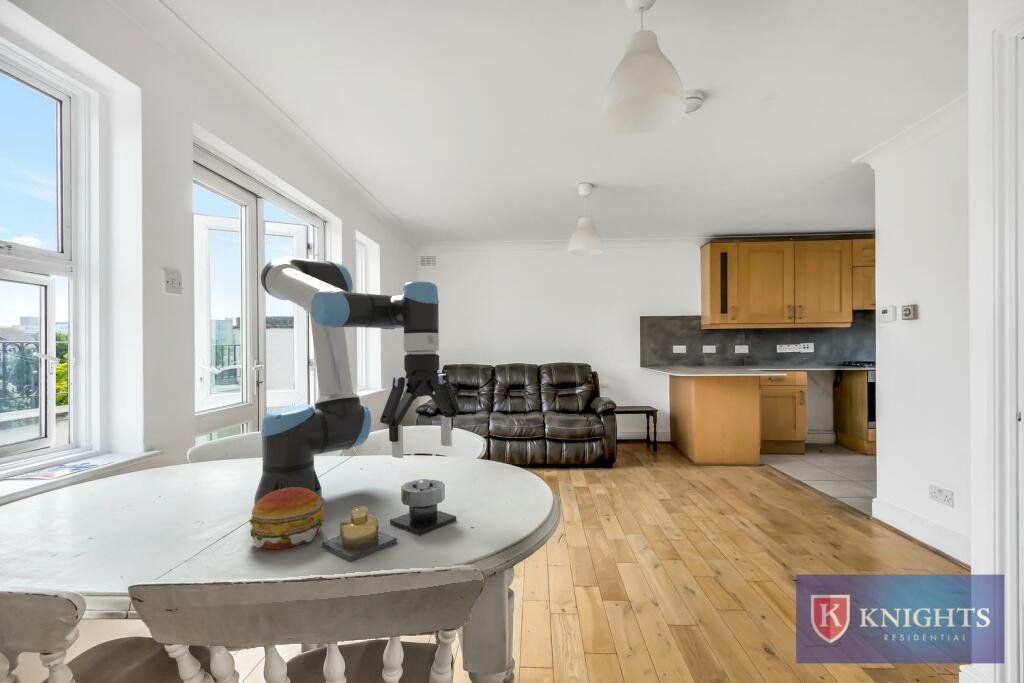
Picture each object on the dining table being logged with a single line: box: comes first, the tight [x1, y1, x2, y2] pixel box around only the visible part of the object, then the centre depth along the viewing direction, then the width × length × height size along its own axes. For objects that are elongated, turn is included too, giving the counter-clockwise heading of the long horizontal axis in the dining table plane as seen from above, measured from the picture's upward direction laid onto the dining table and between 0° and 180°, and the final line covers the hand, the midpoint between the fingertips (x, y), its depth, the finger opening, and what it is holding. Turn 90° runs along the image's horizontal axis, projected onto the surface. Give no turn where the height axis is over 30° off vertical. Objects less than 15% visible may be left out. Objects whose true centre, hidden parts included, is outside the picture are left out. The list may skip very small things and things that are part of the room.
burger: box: [249, 487, 325, 549], centre depth 92 cm, size 13×14×10 cm
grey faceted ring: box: [400, 479, 446, 507], centre depth 100 cm, size 9×9×3 cm
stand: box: [389, 478, 457, 537], centre depth 100 cm, size 10×10×9 cm
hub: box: [321, 505, 398, 563], centre depth 88 cm, size 10×10×7 cm
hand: (423, 451), depth 100 cm, fingers open, 13 cm apart
